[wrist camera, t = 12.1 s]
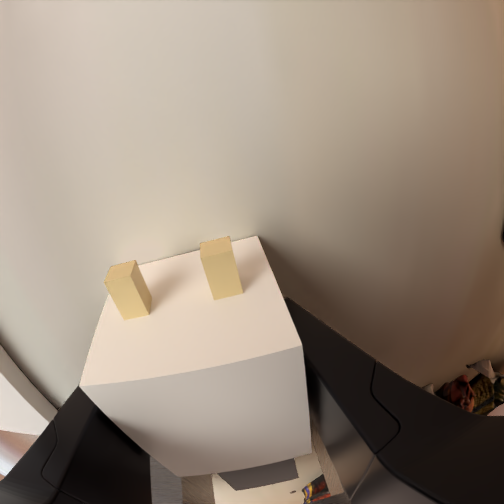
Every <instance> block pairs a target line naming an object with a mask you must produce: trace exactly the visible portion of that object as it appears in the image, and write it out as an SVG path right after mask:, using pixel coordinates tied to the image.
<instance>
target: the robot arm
mask: <svg viewBox="0 0 504 504" xmlns="http://www.w3.org/2000/svg"><path fill="white" fill-rule="evenodd" d="M503 242H504V233H503ZM284 301H285V304H286V306H287V309H288V311H289V313H290V316H291V318H292V321H293V323H294V326H295V328H296V331H297V333H298V336H299V338H300V340H301V343H302V347H303V356H304V366H305V376H306V386H307V397H308V408H309V413H310V416H311V418H312V420H313V422H314V424H315V426H316V429H317V431H318V433H319V435H320V437H321V439H322V442H323V444H324V446H325V448H326V450H327V452H328V454H329V457H330V459H331V461H332V463H333V465H334V467H335V469H336V471H337V474H338V476H339V478H340V480H341V482H342V484H343V486H344V488H345V490H346V493H347V495H348V497H349V499H350V500H351V503H352V504H504V416H485V415H479V414H475V413H472V412H469V411H466V410H464V409H462V408H460V407H458V406H456V405H454V404H452V403H450V402H448V401H446V400H444V399H442V398H440V397H438V396H436V395H434V394H432V393H430V392H428V391H426V390H424V389H422V388H420V387H418V386H416V385H415V384H413V383H411V382H409V381H407V380H406V379H404V378H402V377H401V376H399V375H398V374H396V373H395V372H393V371H392V370H390V369H389V368H387V367H386V366H384V365H383V364H381V363H380V362H379V361H377V362H376V360H375V359H374V358H373V357H371V356H370V355H368V354H367V353H365V352H364V351H363V350H361V349H360V348H358V347H357V346H356V345H354V344H353V343H351V342H350V341H348V340H347V339H346V338H344V337H343V336H341V335H340V334H339V333H337V332H336V331H334V330H333V329H331V328H330V327H329V326H327V325H326V324H324V323H323V322H322V321H320V320H319V319H317V318H316V317H315V316H313V315H312V314H310V313H309V312H308V311H306V310H305V309H303V308H302V307H301V306H299V305H298V304H296V303H295V302H294V301H292V300H291V299H289V298H284ZM0 504H152V492H151V473H150V455H149V454H148V453H147V452H146V451H145V450H143V449H142V448H141V447H140V446H139V445H138V444H136V443H135V442H134V441H133V440H132V439H131V438H130V437H129V436H127V435H126V434H125V433H124V432H123V431H122V430H121V429H120V428H119V427H118V426H117V425H116V424H115V423H114V422H113V421H112V420H111V419H109V418H108V417H107V416H106V415H105V414H104V413H103V411H102V410H101V409H100V408H99V407H98V406H97V405H96V404H95V403H94V402H93V401H92V400H91V399H90V398H89V397H88V396H87V395H86V393H85V392H84V391H83V390H82V389H81V388H80V387H79V385H78V387H77V388H76V389H75V390H74V392H73V393H72V394H71V396H70V397H69V398H68V399H67V401H66V402H65V403H64V405H63V406H62V407H61V409H60V410H59V411H58V412H57V414H56V415H55V416H54V420H51V422H50V423H49V424H48V426H47V427H46V428H45V430H44V431H43V432H42V434H41V435H40V436H39V437H38V439H37V440H36V441H35V442H34V444H33V445H32V446H31V447H30V448H29V450H28V451H27V452H26V453H25V454H24V456H23V457H22V458H21V459H20V460H19V461H18V463H17V464H16V465H15V466H14V467H13V468H12V470H11V471H10V472H9V473H8V474H7V475H6V477H5V478H4V479H3V480H1V481H0Z"/></svg>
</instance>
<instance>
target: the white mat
mask: <svg viewBox="0 0 504 504" xmlns="http://www.w3.org/2000/svg"><path fill="white" fill-rule="evenodd" d="M57 412H58V410H57V409H56V408H55V407H54V406H53V405H52V404H51V403H50V402H49V401H48V400H47V399H46V398H45V397H44V396H43V395H42V394H41V393H40V392H39V391H38V390H37V389H36V388H35V386H34V385H33V384H32V383H31V382H30V381H29V380H28V379H27V377H26V376H25V375H24V374H23V373H22V371H21V370H20V369H19V368H18V367H17V365H16V364H15V363H14V362H13V360H12V359H11V358H10V357H9V355H8V354H7V353H6V352H5V350H4V349H3V348H2V346H1V345H0V430H5V431H11V432H17V433H24V434H32V435H41V434H42V432H43V431H44V430H45V428H46V427H47V426H48V424H49V423H50V422H51V420H54V416H55V415H56V414H57Z"/></svg>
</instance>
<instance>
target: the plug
mask: <svg viewBox="0 0 504 504" xmlns="http://www.w3.org/2000/svg"><path fill="white" fill-rule="evenodd" d="M104 284H105V285H106V287H107V289H108V291H109V294H108V297H107V299H106V302H105V305H104V308H103V310H102V313H101V316H100V319H99V322H98V325H97V328H96V331H95V334H94V337H93V340H92V343H91V346H90V350H89V353H88V356H87V359H86V363H85V366H84V370H83V373H82V377H81V381H80V384H79V387H80V388H81V389H82V390H83V391H84V392H85V393H86V395H87V396H88V397H89V398H90V399H91V400H92V401H93V402H94V403H95V404H96V405H97V406H98V407H99V408H100V409H101V410H102V411H103V413H104V414H105V415H106V416H107V417H108V418H109V419H111V420H112V421H113V422H114V423H115V424H116V425H117V426H118V427H119V428H120V429H121V430H122V431H123V432H124V433H125V434H126V435H127V436H129V437H130V438H131V439H132V440H133V441H134V442H135V443H136V444H138V445H139V446H140V447H141V448H142V449H143V450H145V451H146V452H147V453H148V454H149V455H151V456H152V457H153V458H154V459H156V460H157V461H158V462H159V463H161V464H162V465H163V466H164V467H166V468H167V469H168V470H170V471H171V472H172V473H174V474H175V475H176V476H178V477H185V476H196V475H206V474H214V473H217V474H218V475H219V476H220V477H221V478H222V479H224V480H225V481H226V482H227V483H228V484H229V485H230V486H231V487H232V488H233V489H235V490H236V491H237V490H244V489H250V488H255V487H261V486H266V485H270V484H275V483H280V482H284V481H288V480H292V479H296V478H299V477H298V473H297V469H296V465H295V461H294V458H296V457H299V456H303V455H306V454H310V453H312V446H311V432H310V420H309V408H308V397H307V386H306V376H305V366H304V356H303V347H302V343H301V340H300V338H299V336H298V333H297V331H296V328H295V326H294V323H293V321H292V318H291V316H290V313H289V311H288V309H287V306H286V304H285V301H284V299H283V296H282V294H281V292H280V289H279V287H278V284H277V282H276V279H275V277H274V275H273V272H272V270H271V267H270V265H269V263H268V260H267V258H266V255H265V253H264V251H263V248H262V246H261V243H260V241H259V239H258V236H254V237H250V238H246V239H242V240H238V241H234V242H231V241H230V237H229V236H227V237H223V238H219V239H215V240H211V241H207V242H203V243H200V250H197V251H193V252H189V253H185V254H181V255H177V256H173V257H170V258H166V259H162V260H158V261H154V262H150V263H146V264H142V265H138V264H137V262H136V260H133V261H130V262H126V263H122V264H118V265H115V266H111V267H110V269H109V272H108V274H107V276H106V279H105V281H104Z"/></svg>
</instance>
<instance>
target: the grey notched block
mask: <svg viewBox="0 0 504 504" xmlns="http://www.w3.org/2000/svg"><path fill="white" fill-rule="evenodd" d="M310 424H311V438H312V441H313V444H314V447H315V450H316V453H317V456H318V459H319V462H320V465H321V468H322V471H323V474H324V477H325V480H326V483H327V486H328V489H329V492H330V495H331V496H330V497H327V498H324V499H320V500H317V501H313V502H310V503H306V504H352V503H351V500H350V499H349V497H348V495H347V493H346V490H345V488H344V486H343V484H342V482H341V480H340V478H339V476H338V474H337V471H336V469H335V467H334V465H333V463H332V461H331V459H330V457H329V454H328V452H327V450H326V448H325V446H324V444H323V442H322V439H321V437H320V435H319V433H318V431H317V429H316V426H315V424H314V422H313V420H312V418H311V416H310ZM150 473H151V492H152V504H215V499H214V492H213V484H212V475H211V474H206V475H196V476H185V477H178V476H176V475H175V474H174V473H172V472H171V471H170V470H168V469H167V468H166V467H164V466H163V465H162V464H161V463H159V462H158V461H157V460H156V459H154V458H153V457H152V456H151V455H150Z"/></svg>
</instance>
